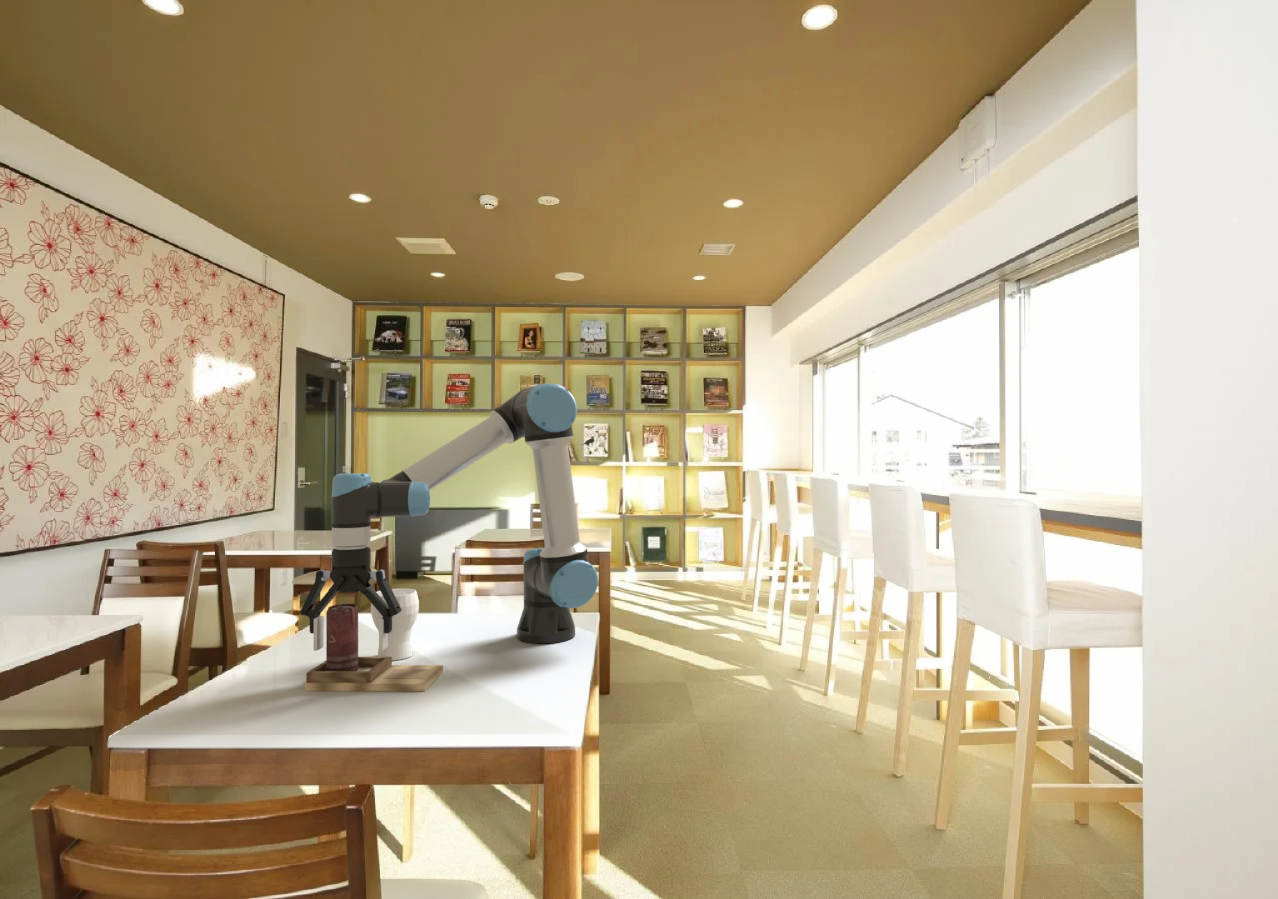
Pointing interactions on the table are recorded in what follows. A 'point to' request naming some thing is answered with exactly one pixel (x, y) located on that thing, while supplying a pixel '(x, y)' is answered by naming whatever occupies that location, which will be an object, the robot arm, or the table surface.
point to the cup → (399, 624)
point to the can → (342, 638)
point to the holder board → (374, 676)
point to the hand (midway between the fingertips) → (350, 649)
